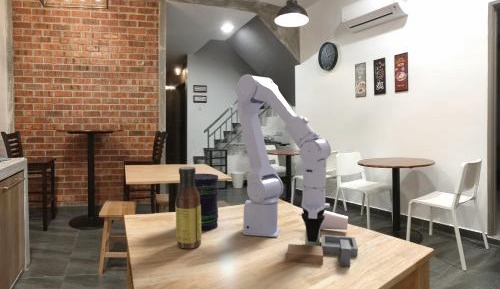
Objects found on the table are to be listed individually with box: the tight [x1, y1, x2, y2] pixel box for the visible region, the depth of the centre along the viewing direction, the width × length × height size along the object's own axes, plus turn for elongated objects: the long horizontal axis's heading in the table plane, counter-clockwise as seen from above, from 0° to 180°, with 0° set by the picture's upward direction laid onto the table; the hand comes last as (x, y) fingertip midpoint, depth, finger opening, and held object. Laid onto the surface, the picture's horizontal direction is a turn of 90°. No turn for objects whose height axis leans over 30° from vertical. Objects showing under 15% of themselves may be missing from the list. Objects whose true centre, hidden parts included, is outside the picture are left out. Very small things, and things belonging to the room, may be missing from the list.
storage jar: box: [195, 173, 219, 232], centre depth 107 cm, size 10×10×15 cm
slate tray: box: [320, 234, 359, 257], centre depth 91 cm, size 8×8×2 cm
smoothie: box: [298, 210, 349, 231], centre depth 106 cm, size 6×6×14 cm
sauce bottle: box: [174, 166, 202, 250], centre depth 91 cm, size 6×6×20 cm
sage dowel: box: [304, 229, 321, 246], centre depth 93 cm, size 4×4×6 cm
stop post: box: [339, 239, 352, 268], centre depth 83 cm, size 2×6×4 cm, turn 169°
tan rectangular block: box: [286, 243, 324, 265], centre depth 85 cm, size 8×6×2 cm
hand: (312, 238), depth 93 cm, fingers closed on sage dowel, 4 cm apart
